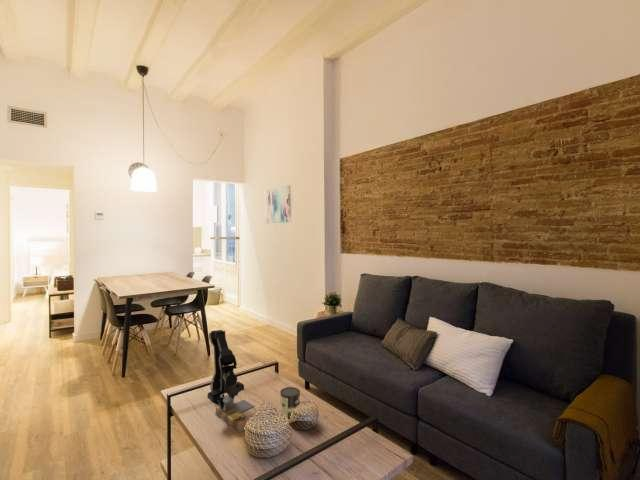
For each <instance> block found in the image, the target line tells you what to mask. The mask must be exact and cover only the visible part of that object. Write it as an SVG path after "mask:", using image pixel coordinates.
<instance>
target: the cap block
mask: <svg viewBox="0 0 640 480" xmlns="http://www.w3.org/2000/svg"><path fill="white" fill-rule="evenodd" d="M223 398H224V399H223V409H221V408H220V406H219V405H218V406H219V409H221V410H222V411H224V412H227V411H230V410H232V409H234V404H235V403H234V400H235V398H234V399H232V398H231V397H229V395H224V397H223Z"/></svg>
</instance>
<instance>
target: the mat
mask: <svg viewBox="0 0 640 480" xmlns="http://www.w3.org/2000/svg"><path fill="white" fill-rule="evenodd" d="M254 407H255V405H253V404H252V403H250V402H249V401H246V400H245V399H242V400H240V401H238V402H235V403H234V409H236V410H238V411H239V412H241V413H242V414H243V413H244V412H246V411H248V410H251V409H252V408H254Z"/></svg>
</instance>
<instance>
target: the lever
mask: <svg viewBox="0 0 640 480" xmlns="http://www.w3.org/2000/svg"><path fill="white" fill-rule="evenodd" d="M243 417H244V416H243V415H241V414H240V413H238V412H236V413H234V414H230V415H228V418H229V419H231V420H236V419H239V418H243Z"/></svg>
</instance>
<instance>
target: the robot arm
mask: <svg viewBox="0 0 640 480" xmlns="http://www.w3.org/2000/svg"><path fill="white" fill-rule="evenodd" d="M208 340H209V341H210V345H212V346H213V347H212V348H213V363H214V373H213V376H212V379H211V382H210V385H209V387H210V388H209V389H210V391H209V392H208V393H207V396H206V397H207V399H209V401H211V402H212V403H214V404H216V405H218V406H220V408H221V409H223V399H224V398H223V397H225V394H227V396H229V397H231V398H232V399H234V400H235V397H236V396H238V395H239V393H240V392H242V391H244V390H245V385H244V384H243V383H242V382H240V381H238V377H237V375H236V373H235V372H234V369H237V365H238V363H237V359H236V356H235V354H234V352H233V350H231V349H230V348H229V345H228V342H227V339H226V331H225V330H223V329H217V330H211V331H210V332H209V333H208Z"/></svg>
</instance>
